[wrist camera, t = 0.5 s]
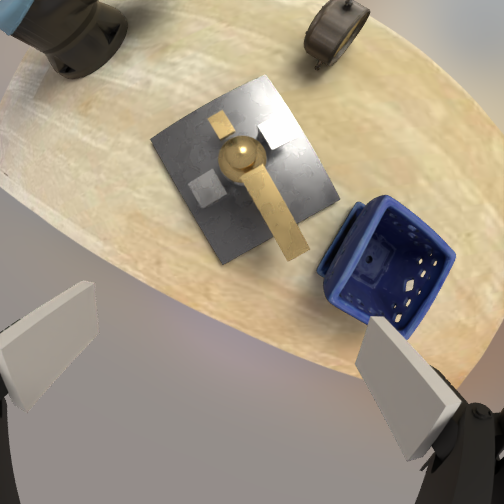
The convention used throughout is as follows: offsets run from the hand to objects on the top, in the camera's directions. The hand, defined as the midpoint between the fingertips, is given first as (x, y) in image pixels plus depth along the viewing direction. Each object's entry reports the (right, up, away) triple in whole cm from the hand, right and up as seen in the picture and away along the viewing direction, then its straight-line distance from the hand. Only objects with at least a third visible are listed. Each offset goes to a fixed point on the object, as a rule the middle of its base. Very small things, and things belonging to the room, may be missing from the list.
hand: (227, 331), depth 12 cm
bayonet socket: (0, +15, +24) cm, 28 cm away
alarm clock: (+12, +34, +20) cm, 41 cm away
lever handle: (+1, +12, +19) cm, 22 cm away
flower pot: (+17, +3, +26) cm, 32 cm away
